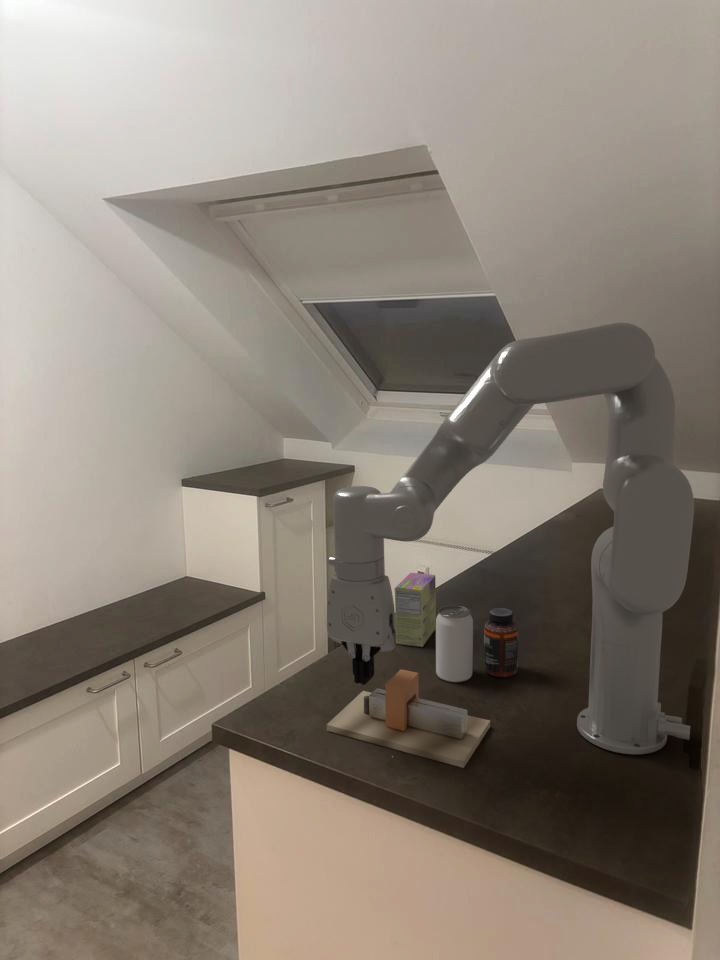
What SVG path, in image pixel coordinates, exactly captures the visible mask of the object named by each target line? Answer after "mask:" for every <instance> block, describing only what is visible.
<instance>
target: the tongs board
mask: <svg viewBox="0 0 720 960" xmlns="http://www.w3.org/2000/svg"><path fill="white" fill-rule="evenodd" d="M371 693H372V692H369V691H365V690H362V691H361V692H360V693H359V694H357V696H356V697H355V698H353V700H351V702H349V703H348V704H347V705H346V706H345V707H343V708H342V709H341V710H340V712H339V713H337V714H336V715H335V716H334V717H333V718H332V719H331V720H330V721H329V722H328V723H326V731H327V732H331V733H334V734H338V735H341V736H344V737H345V736H346V737H349V738H351V739H356V740H360V741H364V742H367V743H371V744H375V745H377V746H378V745H379V746H382V747H386V748H388V749H392V750H396V751H401V752H403V753H408V754H410V755H415V756H419V757H422V758H426V759H430V760H433V761H436V762H441V763H445V764H447V765H451V766H455V767H457V768H463V769H464V768H465V766H466V765H467V763H468V762H469V761H470V759H471V757H472V755H473V754H474V753H475V751H476V749H477V748H478V747H479V745H480V743H481V742H482V740H483V739H484V737H485V736H486V734H487V733H488V731H489V730H490V728H491V720H490V719H485V718H480V717H476V716H472V715H468V714H467V732H466V733H465V735H464V736H463V738H462V739H459V738H455V737H451V736H447V735H443V734H439V733H435V732H431V731H427V730H423V729H419V728H415V727H411V726H407V728H406V729H405V730H404V731H402V730H398V729H394V728H390V727H386V720H383V719H379V718H375V717H371V716H369V695H370V694H371Z"/></svg>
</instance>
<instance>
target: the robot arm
mask: <svg viewBox="0 0 720 960" xmlns="http://www.w3.org/2000/svg"><path fill="white" fill-rule="evenodd" d="M598 395H599V396H600V395H603V396H604V399H605V401H606V404H607V410H608V428H607V429H608V435H607V446H606V457H605V458H606V459H605V465H604V473H603V481H602V492H603V493H602V494H603V497H604V499H605V501H606V503H607V504H608V506H609V507H610V509H611V510H612V511H613V515H614V516H613V524H612V525H613V526H611V527H609V528H607V529H606V530H604V531H603V532H602V533H601V534H600V535H599V537H598V538H597V540H596V542H595V543H594V545H593V549H592V551H591V552H592V553H591V560H590V561H591V563H590V566H591V567H590V569H591V588H592V589H591V590H592V591H591V592H592V608H591V609H592V611H591V612H592V616H591V617H592V618H591V631H590V632H591V633H590V634H591V635H590V637H591V638H590V639H591V640H590V660H589V680H588V681H589V682H588V683H589V687H588V707H586V708H584V709H583V710H581V711H580V712H579V713H578V715H577V718H576V727H577V730H578V732H579V733H580V735H581V736H583V738H584V739H585V740H587V741H588V742H589V743H591V744H593V745H595V746H597V747H599V748H602V749H604V750H606V751H611V752H614V753H618V754H619V753H620V754H624V755H646V754H648V755H649V754H652V753H655V752H657V751H659V750H661V749H663V747H665V746H666V744H667V740H668V736H672V737H675V738H678V739H683V740H688V741H690V738H691V737H690V735H691V725H689V724H688V725H687V724H683V717H680V716H676V715H675V716H674V715H668V714H665V712H663V711H661V708H662V704H661V702H658V698H659V684H660V682H659V679H660V665H661V648H662V638H663V637H662V636H663V613H664V612H665V611H667V610H669V609H670V608H672V607H673V606H674V605H675V604H676V603H677V601H678V600H679V598H680V597H681V595H682V594H683V591H684V588H685V586H686V581H687V576H688V570H689V561H690V552H691V545H692V536H693V534H692V533H693V525H694V516H695V500H694V494H693V489H692V485H691V484H690V481H689V479H688V478H687V476H686V475H685V473H684V472H682V470H680V468H679V467H677V466H676V465H674V445H675V423H676V421H675V420H676V403H675V397H674V396H675V395H674V392H673V387H672V384H671V382H670V379H669V377H668V375H667V373H666V371H665V369H664V368H663V366H662V365H661V363H660V361H659V360H658V359H657V358H656V349H655V344H654V342H653V341H652V338H651V337H650V335H649V334H648V333H647V332H646V331H645V330H644V329H643V328H641V327H639V326H638V325H635V324H632V323H629V322H614V323H609V324H602V325H598V326H593V327H588V328H585V329H584V328H583V329H578V330H572V331H568V332H563V333H558V334H551V335H545V336H537V337H529V338H522V339H517V340H514V341H512V342H509V343H507V344H506V345H505V346H503V347H502V348H501V349H500V350H499V351H498V352H497V354H496V355H495V356H494V357H493V358H492V360H491V361H490V363H489V364H487V366H486V367H485V368H484V370H483V371H482V372H481V374H480V375H479V376H478V378H477V379H476V380H475V381H474V383H473V384H472V385H471V386H470V388H468V390H467V391H466V392H465V394H464V395H463V397H462V398H461V399H460V400H459V401H458V402H457V404H456V405H455V406H454V408H453V409H452V410H451V411H450V413H449V414H448V415H447V416H446V417H445V419H444V420H443V422H442V423H441V424H440V425H439V427H438V429H437V430H436V432H435V434H434V435H433V438H432V439H431V440H430V441H429V443H428V444H427V445H426V446H425V448H424V449H423V450H422V452H421V453H420V454H419V455H418V456H417V458H416V459H415V460H414V462H413V463H412V464H411V465H410V466H409V468H408V469H407V470H406V472H405V473H404V474H403V475H402V477H401V478H400V479H399V480H398V481H397V483H395V485H394V487H393V488H392V489H391V491H390V492H385V493H383V492H382V493H381V491H380V490H379V489H377V488H376V487H372V486H365V485H353V486H346V487H343V488H341V489H340V488H339V489H337V491H335V492H334V495H333V497H332V516H333V539H334V542H333V543H334V544H333V545H334V557H333V556H330V557H329V558H328V565H329V566H332V567H334V574H332V575H330V579H329V584H328V591H327V602H326V633H327V635H328V636H329V637H330V639H331V641H334V642H336V643H338V644H341V645H342V646H343V647H344V649H345V650H346V651H347V654H348V657H349V658H350V659H351V662H352V675H353V676H354V679H353V680H354V681H353V682H354V683H355V684H360V685H362V686H365V685H366V684H367V683H368V682H369V681H370V680H372V679H373V678H374V676H375V656H376V655H377V654H378V653H379V652H381V653H382V652H392V650H393V649H395V648H396V641H395V637H394V635H395V636H396V613H395V600H394V596H393V591H392V587H391V581H390V577H389V576H388V575H386V573H385V572H386V569H385V567H386V566H385V565H386V564H385V562H386V561H385V540H386V539H387V540H392V541H397V542H406V543H407V542H414V541H417V540H421V538H423V537H425V536H426V535H427V534H428V533H429V531H430V530H431V527H432V525H433V522H434V516H435V512H436V511H437V509H438V508H439V507H440V506H441V504H442V503H443V502H444V501H445V500H446V498H447V497H448V496H449V494H450V493H451V492H452V491H453V489H454V488H456V486H457V485H458V484H459V483H460V482H461V481H462V480H463V478H464V477H466V476H467V474H469V472H471V471H472V470H473V469H476V467H478V466H480V465H482V464H484V463H485V462H486V461H488V460H489V459H490V458H491V457H492V456H493V455H494V454H495V452H497V450H498V449H499V448H500V447H501V445H502V444H503V443H504V442H505V440H506V439H507V438H508V437H509V435H510V434H511V433H512V432H513V430H514V429H515V428H516V427H517V426H518V424H520V422H521V421H522V420H523V419H524V417H525V416H526V415H527V414H528V412H529V411H530V410H531V409H532V408H533V406H534V405H541V404H547V403H555V402H562V401H569V400H576V399H581V398H587V397H592V396H598ZM384 539H385V540H384Z"/></svg>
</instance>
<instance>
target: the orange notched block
mask: <svg viewBox="0 0 720 960" xmlns="http://www.w3.org/2000/svg"><path fill="white" fill-rule="evenodd" d="M419 679H420V678H419V672H416V671H411V670H407V669H406V670H405V669H402V668H400V669H399V670H398V672H395V674H394V675H393V676H392V677H391V678H390V679H389V680H388V681H387V682H386V683H385V684H384V688H385V689H384V690H385V706H386V727H390V728H394V729H398V730H402V731H404V730H405V729H406V728H407V708H406V703H407V702H408V701H409V700H410V699H411V698H412V697H416V698H419V697H420V695H419V694H420V693H419V692H420V691H419V690H420V688H419V686H420V685H419Z"/></svg>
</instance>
